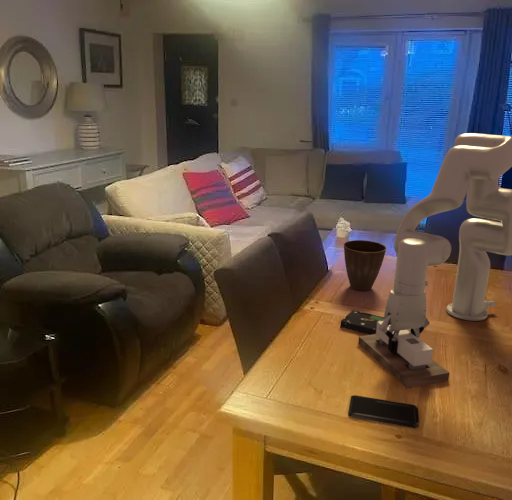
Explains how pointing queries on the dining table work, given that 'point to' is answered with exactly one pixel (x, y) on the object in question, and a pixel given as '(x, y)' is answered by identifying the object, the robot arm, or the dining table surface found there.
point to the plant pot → (363, 263)
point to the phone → (384, 411)
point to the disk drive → (361, 322)
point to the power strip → (409, 348)
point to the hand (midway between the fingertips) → (401, 350)
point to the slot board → (402, 364)
